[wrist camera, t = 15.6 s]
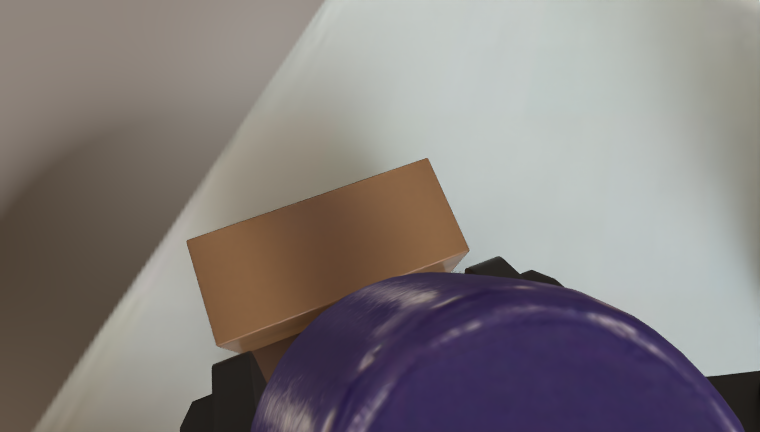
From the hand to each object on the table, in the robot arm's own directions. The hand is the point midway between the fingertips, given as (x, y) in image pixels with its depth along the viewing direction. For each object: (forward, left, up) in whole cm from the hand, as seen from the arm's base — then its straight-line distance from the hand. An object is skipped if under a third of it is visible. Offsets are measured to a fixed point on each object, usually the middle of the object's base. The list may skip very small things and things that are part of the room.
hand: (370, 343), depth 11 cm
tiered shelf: (0, 0, -15) cm, 15 cm away
